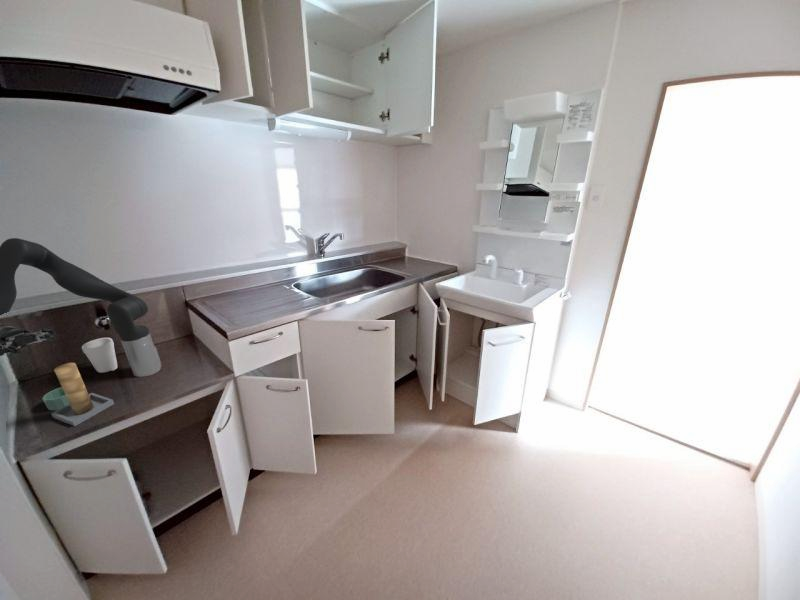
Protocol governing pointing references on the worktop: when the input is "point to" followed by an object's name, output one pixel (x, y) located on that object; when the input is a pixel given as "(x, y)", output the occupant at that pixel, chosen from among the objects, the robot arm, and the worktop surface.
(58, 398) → the holder pot
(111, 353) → the foam cup
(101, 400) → the tray
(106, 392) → the worktop surface
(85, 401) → the wooden dowel
